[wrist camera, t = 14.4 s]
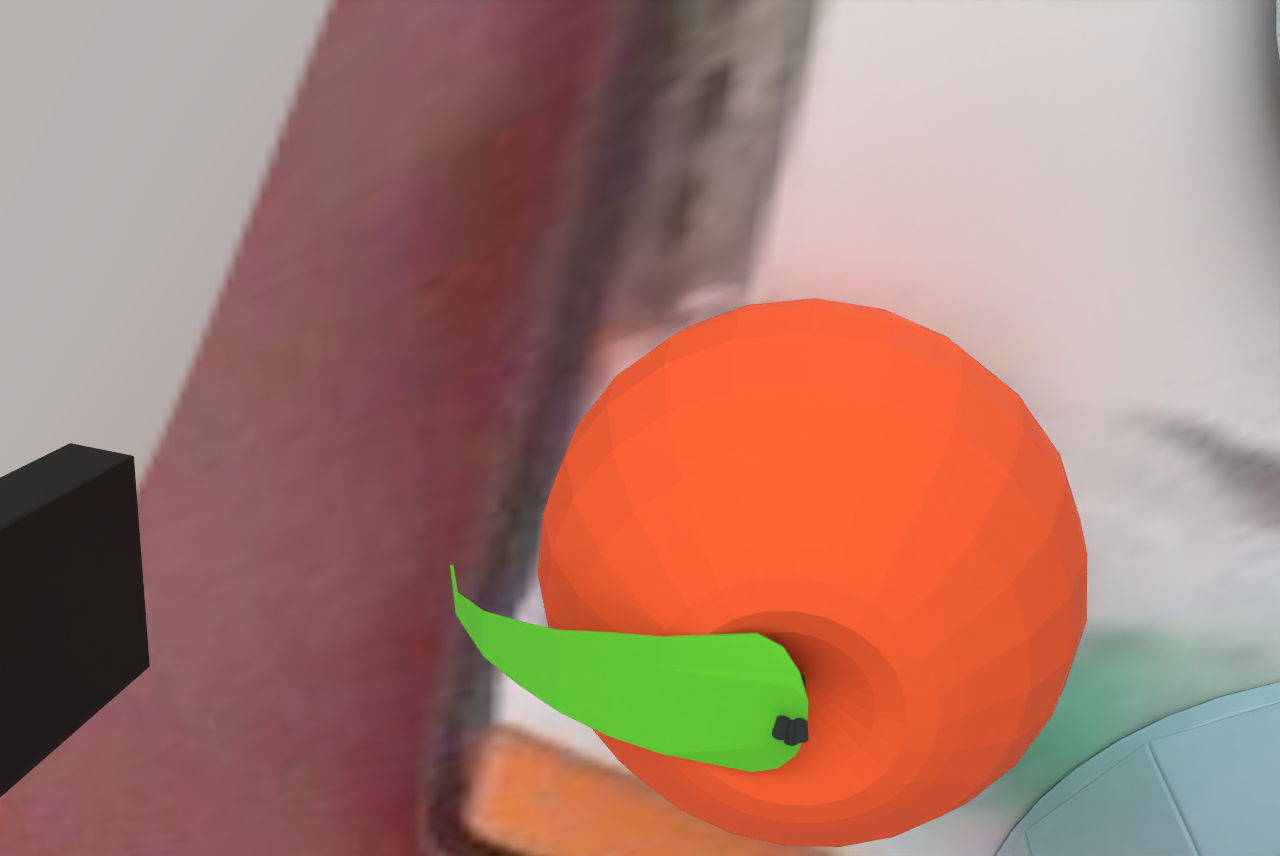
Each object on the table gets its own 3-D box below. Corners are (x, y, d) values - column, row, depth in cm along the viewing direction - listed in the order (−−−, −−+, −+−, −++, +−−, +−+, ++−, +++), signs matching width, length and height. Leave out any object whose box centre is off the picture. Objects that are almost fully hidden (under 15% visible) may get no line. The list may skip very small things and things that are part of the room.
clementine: (553, 621, 18) (388, 936, 11) (535, 248, 16) (313, 374, 9) (1003, 664, 16) (1112, 1053, 10) (1059, 260, 14) (1251, 420, 8)
